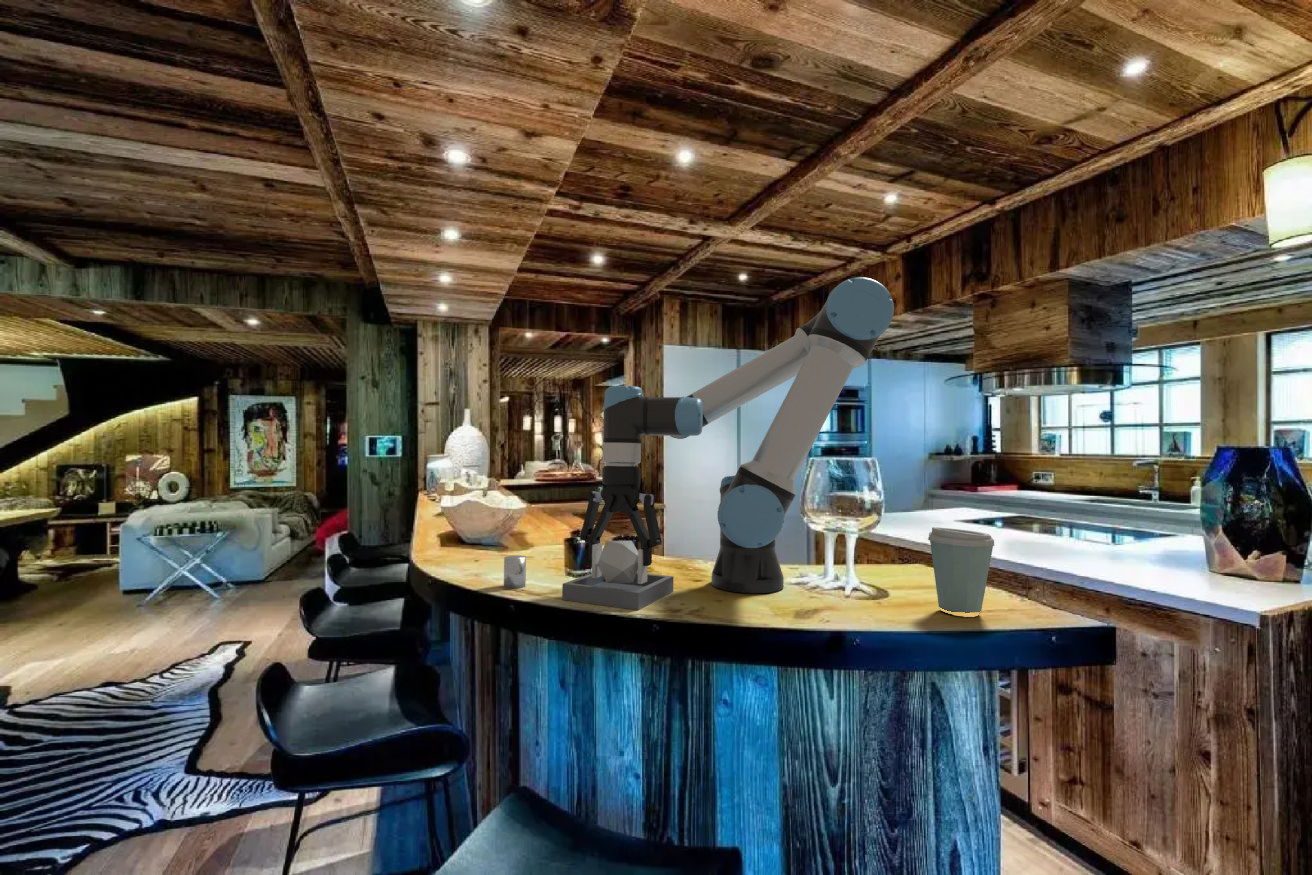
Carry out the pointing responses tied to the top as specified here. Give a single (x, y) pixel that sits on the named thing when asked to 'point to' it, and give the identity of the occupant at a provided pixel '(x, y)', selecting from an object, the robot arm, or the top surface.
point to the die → (619, 562)
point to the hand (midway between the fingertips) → (619, 579)
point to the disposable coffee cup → (960, 567)
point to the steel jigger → (514, 572)
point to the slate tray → (617, 591)
